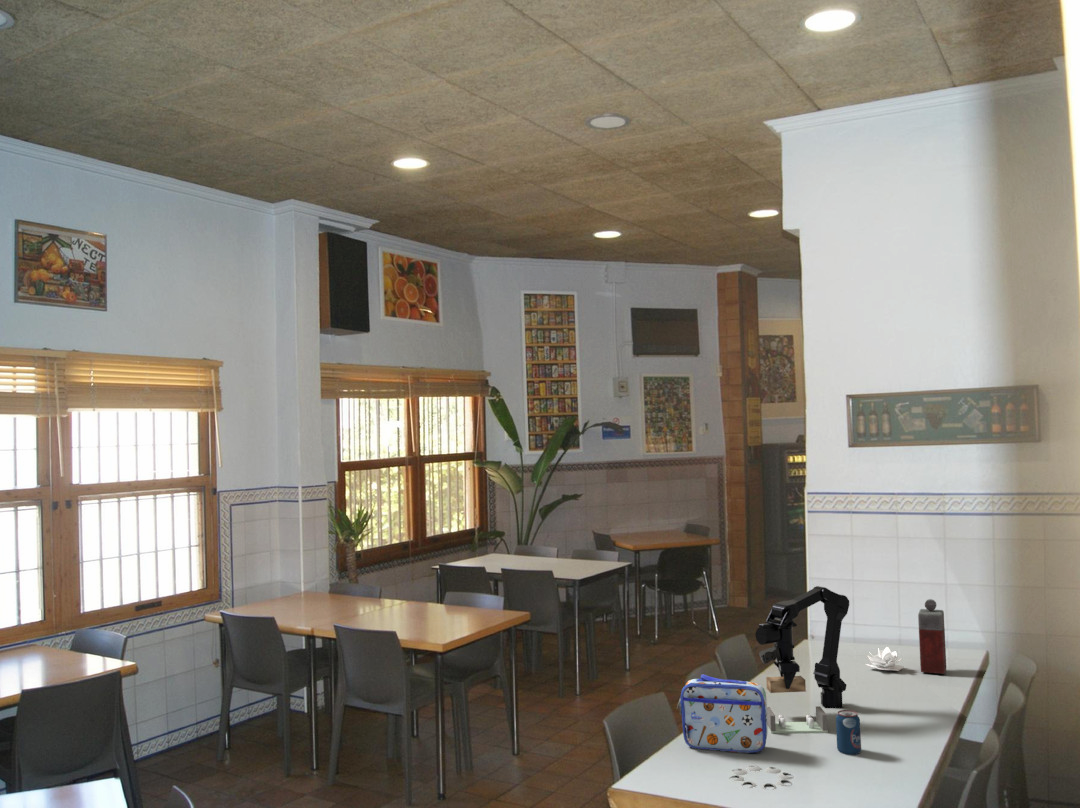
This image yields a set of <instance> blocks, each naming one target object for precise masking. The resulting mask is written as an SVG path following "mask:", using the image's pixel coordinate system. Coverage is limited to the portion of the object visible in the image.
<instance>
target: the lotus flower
mask: <svg viewBox="0 0 1080 808" xmlns="http://www.w3.org/2000/svg"><path fill="white" fill-rule="evenodd" d="M869 654H870V655H871V656H870V655H867V658H868V659H869V660H870V663H871V664H868V663H865V666H868V667H872V668H874V669H877V670H883V671H897V672H898V671H900V670H903V669H904V668H905V667H904V666H903V665H898V662H900V661H901V660H903V657H902V658H900V659H898V653H897V651H892V650H891V649H890V647H888V646H886V647H885V648H884V649H880V648H879V647H878V648H877V654H874V655H873V654H872V653H871V652H869ZM897 659H898V660H897Z"/></svg>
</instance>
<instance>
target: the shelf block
mask: <svg viewBox="0 0 1080 808" xmlns="http://www.w3.org/2000/svg"><path fill="white" fill-rule="evenodd" d="M765 680H766V681H765V682H766V690H767V691H768V692H769V693H771V694H775V693H776V694H778V693H779V694H781V693H800V692H807V690H806V688H807V687H806V678H804V677H803V676H802V675H795V677H794V679H793V681H792V684H791V686H790V688H789V689H786V687H785V682H784V677H781V676H767V677H766V679H765Z"/></svg>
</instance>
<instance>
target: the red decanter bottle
mask: <svg viewBox="0 0 1080 808" xmlns="http://www.w3.org/2000/svg"><path fill="white" fill-rule="evenodd" d="M924 607H925V608H920V609H919V612H918V613H917V614H918V615H917V618H918V622H917V623H918V639H919V640H918V643H919V659H920V660H919V661H920V662H919V664H920V666H919V667H920V673H931V674H941V675H943V674H945V675H946V673H947V654H946V653H947V652H946V650H947V649H946V634H945V633H946V631H945V630H946V629H945V612H944V610H943V609H936V608H937V602H936V601H935V600H934V599H932V598H929V599H926V600H925V602H924Z"/></svg>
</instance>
